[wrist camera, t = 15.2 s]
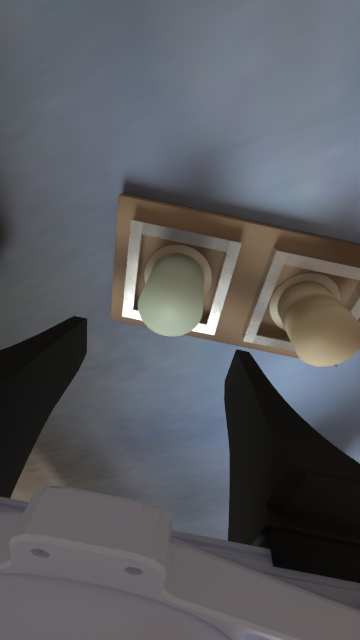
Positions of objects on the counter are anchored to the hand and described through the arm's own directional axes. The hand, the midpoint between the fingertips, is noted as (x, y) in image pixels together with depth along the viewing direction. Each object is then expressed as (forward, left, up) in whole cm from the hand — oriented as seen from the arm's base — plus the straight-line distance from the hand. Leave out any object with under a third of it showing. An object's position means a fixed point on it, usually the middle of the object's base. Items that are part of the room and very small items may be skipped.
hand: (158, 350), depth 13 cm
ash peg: (0, -10, -9) cm, 14 cm away
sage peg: (0, 0, -9) cm, 9 cm away
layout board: (0, -5, -10) cm, 12 cm away
